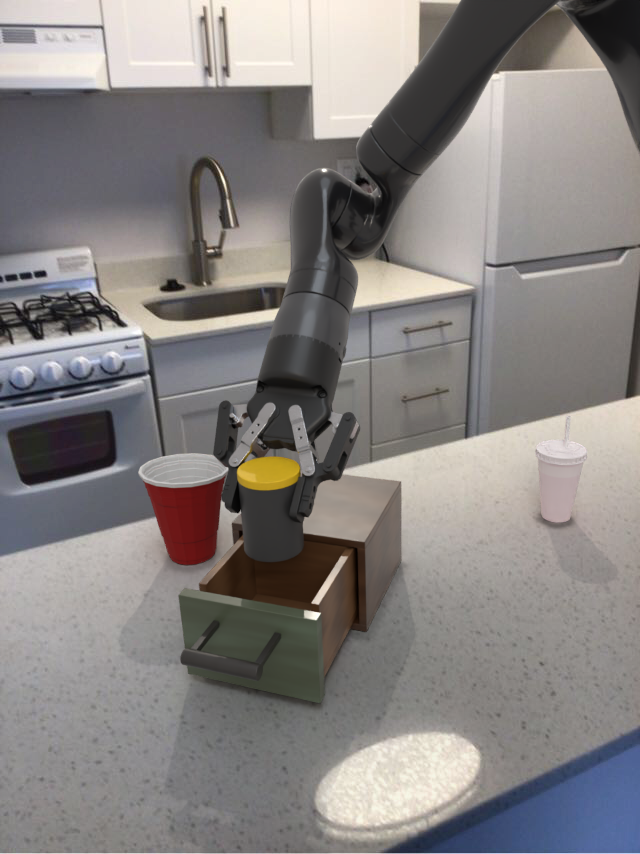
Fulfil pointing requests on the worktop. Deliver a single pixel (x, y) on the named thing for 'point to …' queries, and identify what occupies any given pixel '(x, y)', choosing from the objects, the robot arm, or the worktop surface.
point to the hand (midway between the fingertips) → (263, 514)
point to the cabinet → (358, 533)
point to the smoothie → (559, 475)
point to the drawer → (271, 619)
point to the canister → (269, 508)
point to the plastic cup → (186, 503)
